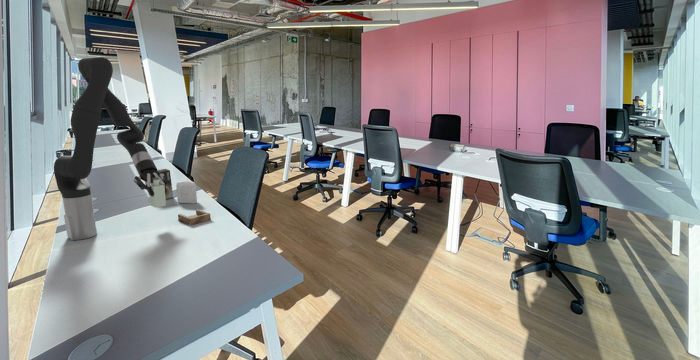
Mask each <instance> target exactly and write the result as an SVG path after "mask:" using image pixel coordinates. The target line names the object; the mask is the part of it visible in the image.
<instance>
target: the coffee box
mask: <svg viewBox="0 0 700 360" xmlns="http://www.w3.org/2000/svg"><path fill="white" fill-rule="evenodd" d="M157 171H158V172H159V173H160V174H164V173H167V178H168V184H167V186H165V187H166V189H167V193H166V194H165V198H166V199H167V200H168V199H171V198H174V192H173V184H172V183H173V182H172V177H171V175H172V174H171V170H170V169H167V168H162V169H157ZM160 178H161V176H160ZM161 179H162V178H161ZM162 181H163V179H162ZM150 185H154V184H153V183H150Z"/></svg>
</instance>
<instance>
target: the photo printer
mask: <svg viewBox="0 0 700 360" xmlns="http://www.w3.org/2000/svg"><path fill="white" fill-rule="evenodd" d="M175 185H176V186H175V187H176V197H177V203H179V204H193V205H194V203H195V204H196V203H197V202H198V197H197V184H196V182H194V181H191V180H179V181H177V182H176V184H175Z"/></svg>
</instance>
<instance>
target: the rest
mask: <svg viewBox="0 0 700 360" xmlns="http://www.w3.org/2000/svg"><path fill="white" fill-rule="evenodd" d="M177 219H178V221H179V222H181V223H183V224H186V225H189V226H193V225H197V224H201V223H204V222H207V221H212V219H211V213H209V212H207V211H204V210H201V209H195V214H193V215H185V214H182V213H178V214H177Z"/></svg>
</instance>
